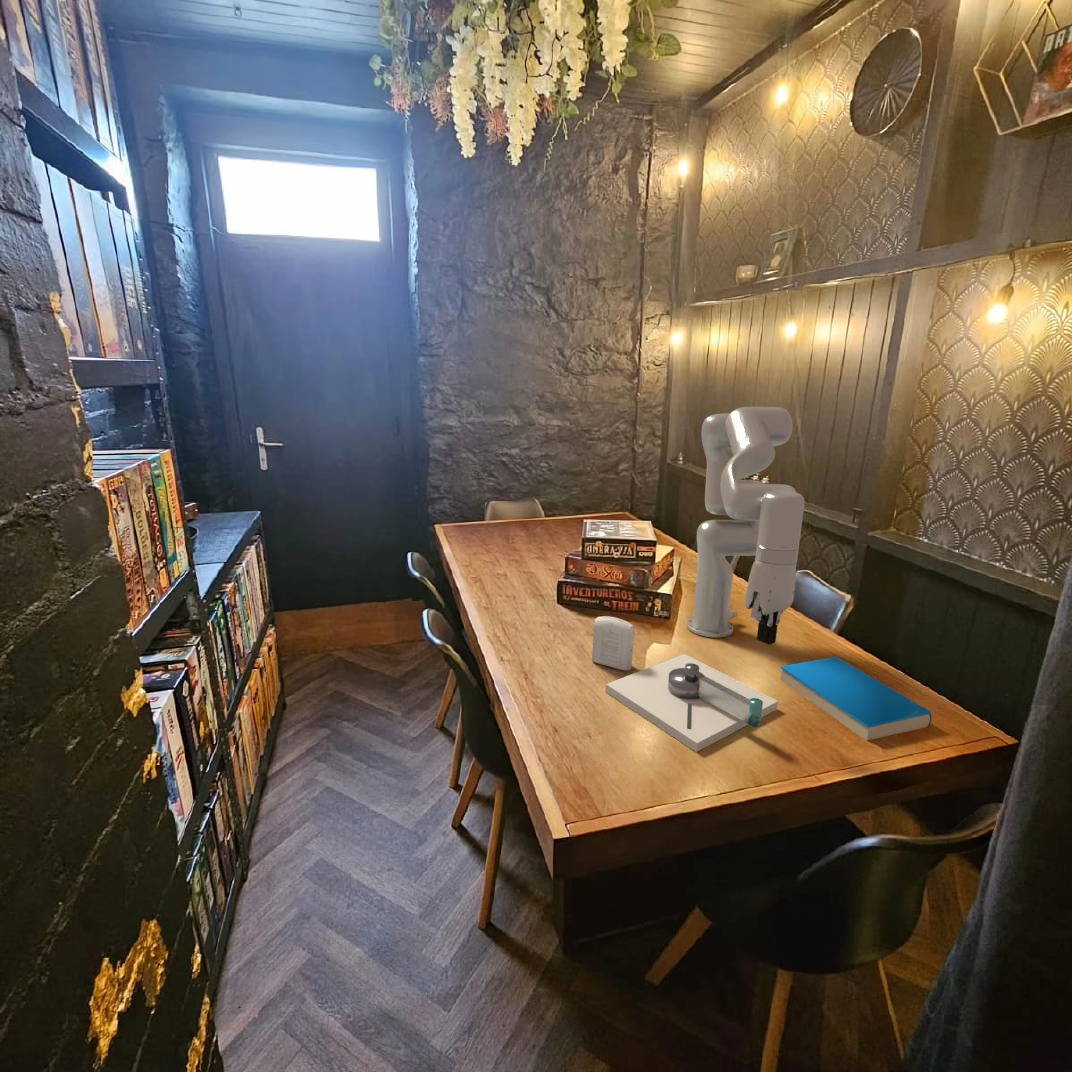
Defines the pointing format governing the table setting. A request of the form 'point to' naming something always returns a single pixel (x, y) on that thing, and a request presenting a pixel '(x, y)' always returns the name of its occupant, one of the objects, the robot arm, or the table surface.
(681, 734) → the stand base
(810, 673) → the book
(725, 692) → the crank handle
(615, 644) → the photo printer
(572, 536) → the table surface
